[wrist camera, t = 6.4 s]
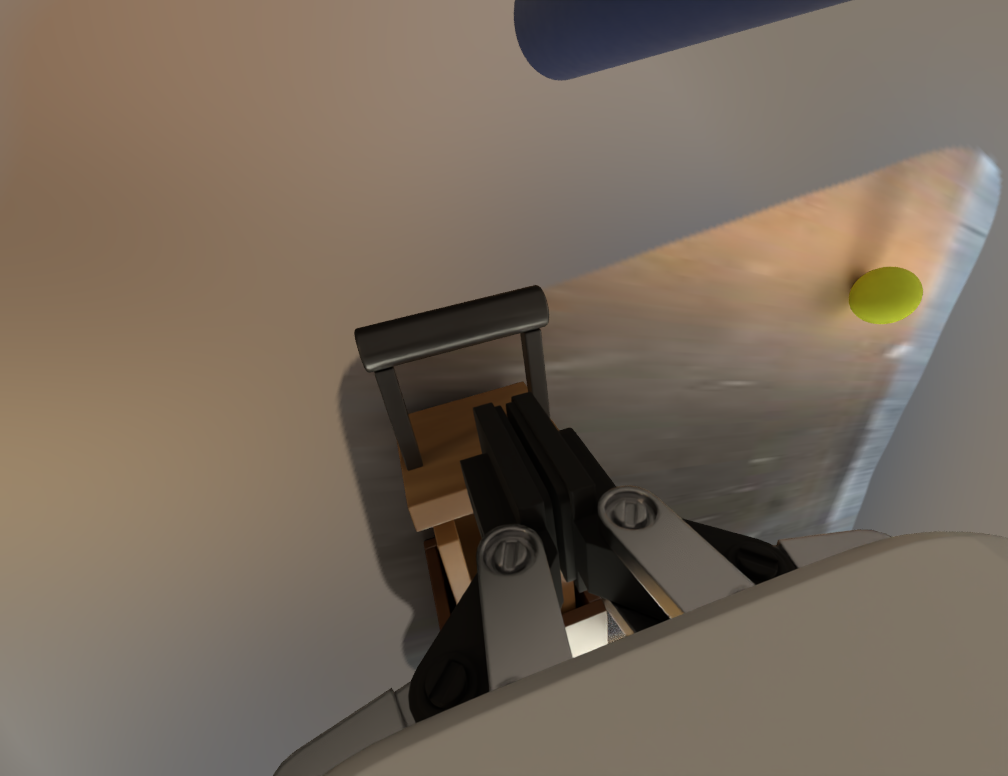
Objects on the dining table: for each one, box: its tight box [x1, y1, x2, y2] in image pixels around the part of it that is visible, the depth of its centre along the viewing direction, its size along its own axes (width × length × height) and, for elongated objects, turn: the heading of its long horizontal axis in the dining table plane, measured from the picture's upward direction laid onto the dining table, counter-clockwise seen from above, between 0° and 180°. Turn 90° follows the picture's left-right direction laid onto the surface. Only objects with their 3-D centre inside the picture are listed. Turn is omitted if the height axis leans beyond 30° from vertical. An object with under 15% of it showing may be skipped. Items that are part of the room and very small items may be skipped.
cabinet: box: [424, 537, 608, 658], centre depth 25 cm, size 13×7×7 cm, turn 9°
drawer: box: [354, 285, 576, 614], centre depth 19 cm, size 18×6×6 cm, turn 9°
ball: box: [849, 267, 923, 324], centre depth 24 cm, size 3×3×3 cm
